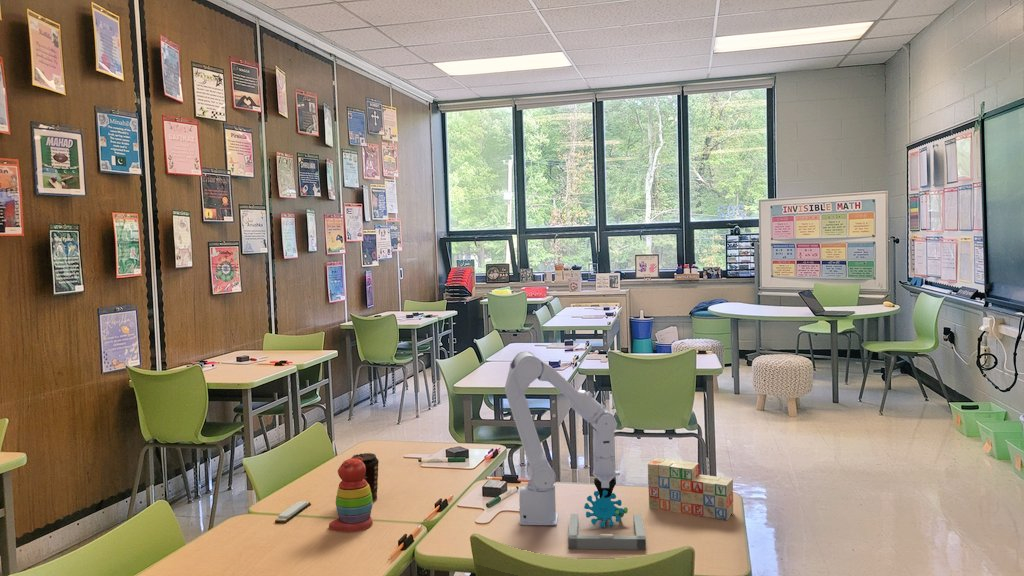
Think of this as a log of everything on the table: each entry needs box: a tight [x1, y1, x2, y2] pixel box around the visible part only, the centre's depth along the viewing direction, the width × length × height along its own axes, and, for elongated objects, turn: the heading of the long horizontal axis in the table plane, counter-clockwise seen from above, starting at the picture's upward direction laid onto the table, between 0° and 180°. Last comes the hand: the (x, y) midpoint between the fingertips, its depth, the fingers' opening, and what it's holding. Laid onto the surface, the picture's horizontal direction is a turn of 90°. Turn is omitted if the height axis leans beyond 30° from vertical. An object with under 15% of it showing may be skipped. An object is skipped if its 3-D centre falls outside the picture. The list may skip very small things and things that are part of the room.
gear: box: [583, 490, 629, 529], centre depth 190 cm, size 11×6×10 cm
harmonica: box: [274, 500, 312, 525], centre depth 203 cm, size 15×3×2 cm, turn 168°
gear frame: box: [567, 513, 647, 551], centre depth 180 cm, size 18×16×3 cm
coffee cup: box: [351, 452, 380, 503], centre depth 211 cm, size 9×8×13 cm
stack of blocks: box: [647, 457, 734, 520], centre depth 196 cm, size 21×6×12 cm, turn 57°
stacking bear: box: [328, 457, 374, 533], centre depth 192 cm, size 11×10×18 cm
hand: (605, 506), depth 194 cm, fingers closed
